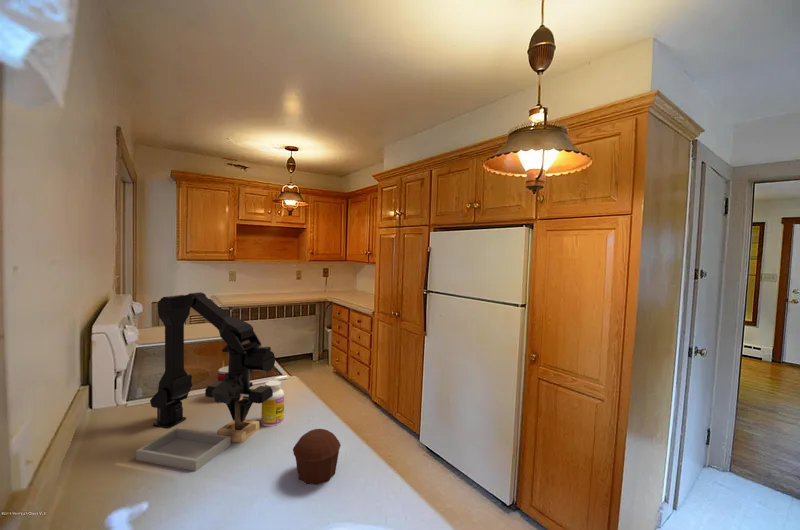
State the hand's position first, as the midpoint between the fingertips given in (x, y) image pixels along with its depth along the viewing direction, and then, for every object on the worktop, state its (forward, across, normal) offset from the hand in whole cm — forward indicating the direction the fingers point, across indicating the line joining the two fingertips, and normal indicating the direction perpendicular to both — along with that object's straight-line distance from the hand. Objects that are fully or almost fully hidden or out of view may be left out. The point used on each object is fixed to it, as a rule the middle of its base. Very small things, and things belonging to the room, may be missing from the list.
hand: (238, 420), depth 104 cm
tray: (+4, -7, -12) cm, 15 cm away
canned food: (+5, -21, +22) cm, 31 cm away
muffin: (+5, +30, -10) cm, 32 cm away
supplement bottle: (+5, +5, +10) cm, 12 cm away
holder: (+4, 0, 0) cm, 4 cm away
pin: (+3, 0, 0) cm, 3 cm away
